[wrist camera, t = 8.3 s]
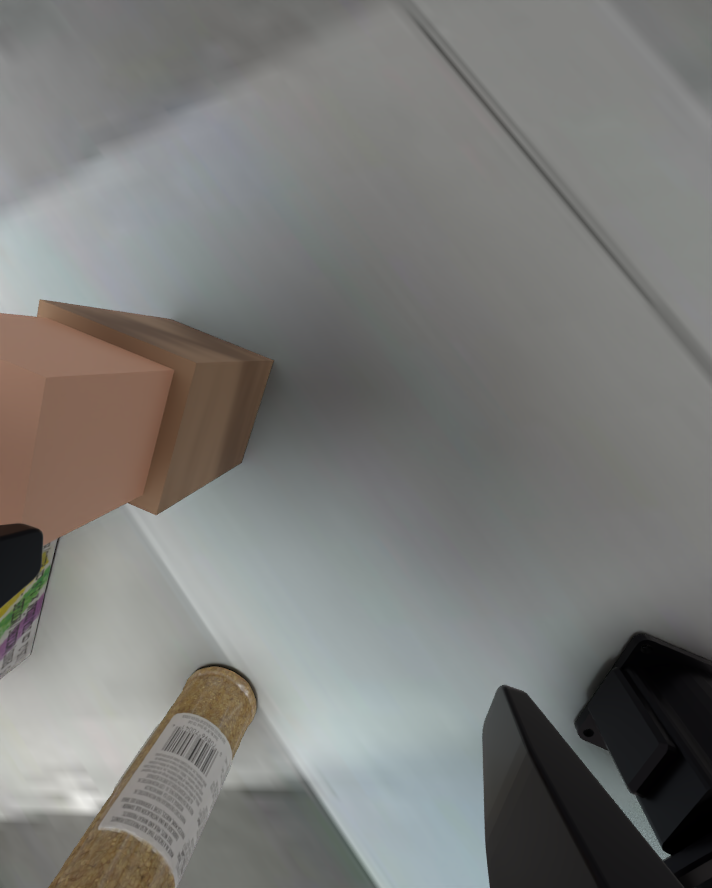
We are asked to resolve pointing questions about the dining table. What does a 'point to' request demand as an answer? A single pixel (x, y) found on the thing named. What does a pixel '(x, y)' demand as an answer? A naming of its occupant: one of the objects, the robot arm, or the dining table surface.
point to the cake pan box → (23, 616)
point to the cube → (72, 424)
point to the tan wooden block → (183, 396)
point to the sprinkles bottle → (165, 790)
